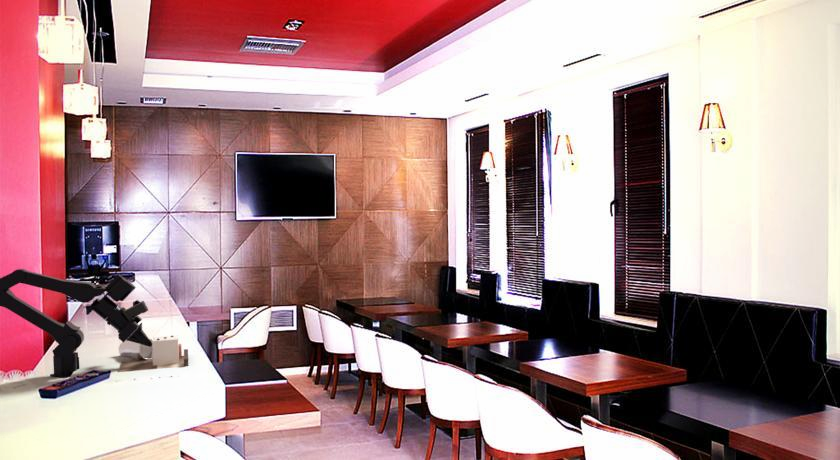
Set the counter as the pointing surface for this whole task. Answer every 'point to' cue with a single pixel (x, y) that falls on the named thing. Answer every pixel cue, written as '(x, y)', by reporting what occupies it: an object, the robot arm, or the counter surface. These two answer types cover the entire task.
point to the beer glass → (135, 350)
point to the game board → (150, 364)
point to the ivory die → (165, 350)
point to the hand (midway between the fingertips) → (151, 345)
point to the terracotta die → (180, 351)
